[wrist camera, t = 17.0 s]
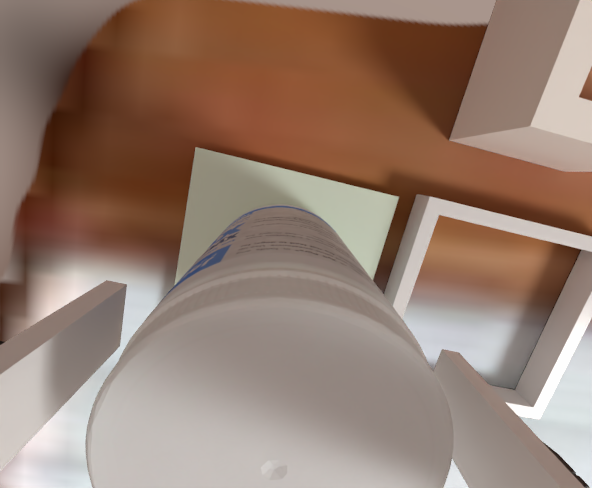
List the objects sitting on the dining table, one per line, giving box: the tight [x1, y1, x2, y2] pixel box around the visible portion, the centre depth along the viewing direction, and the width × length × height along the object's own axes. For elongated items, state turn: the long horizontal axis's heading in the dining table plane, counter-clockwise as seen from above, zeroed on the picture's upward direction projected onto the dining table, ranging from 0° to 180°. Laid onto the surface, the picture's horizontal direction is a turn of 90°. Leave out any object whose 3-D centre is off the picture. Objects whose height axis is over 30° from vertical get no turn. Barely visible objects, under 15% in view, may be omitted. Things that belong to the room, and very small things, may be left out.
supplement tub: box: [86, 204, 454, 488], centre depth 14 cm, size 10×10×15 cm
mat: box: [174, 147, 399, 286], centre depth 22 cm, size 14×14×1 cm
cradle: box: [384, 194, 592, 420], centre depth 23 cm, size 15×15×2 cm
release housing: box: [449, 0, 592, 172], centre depth 17 cm, size 9×9×7 cm
